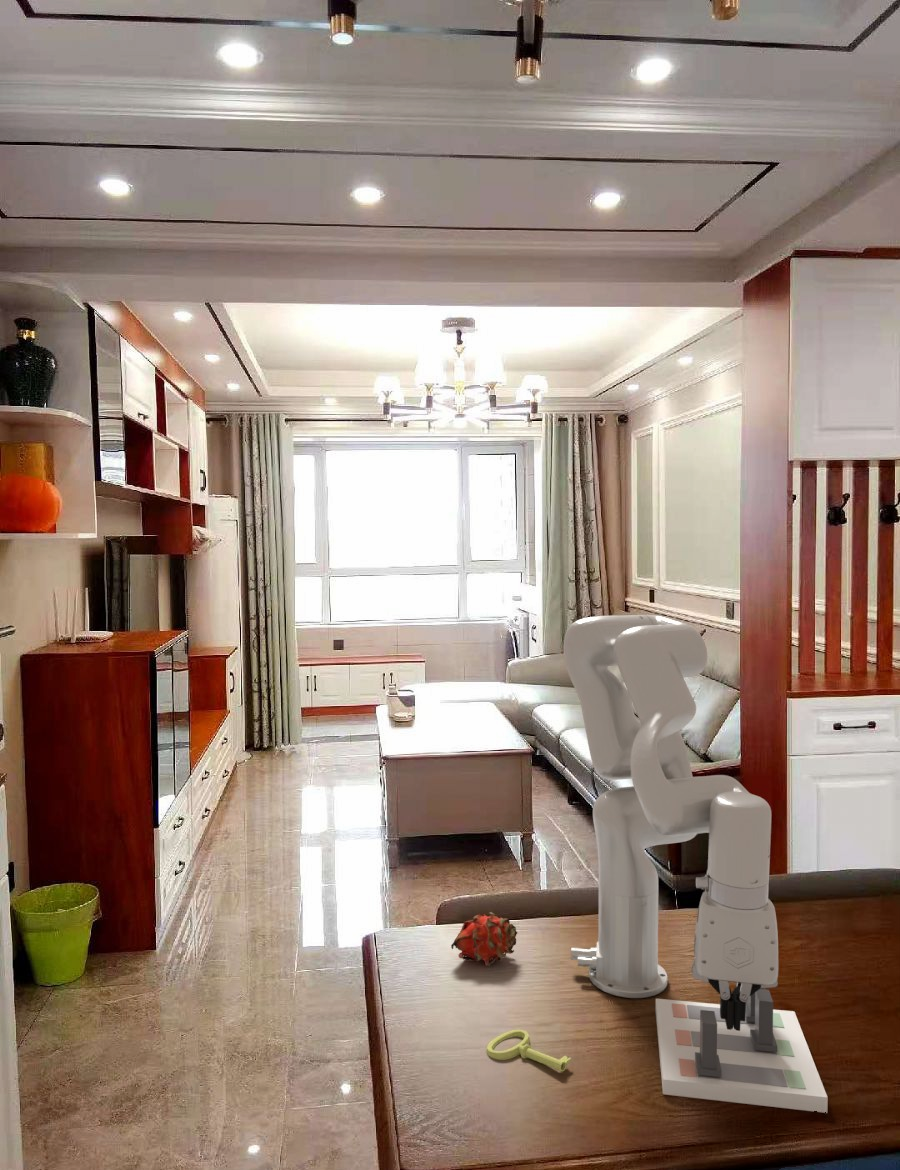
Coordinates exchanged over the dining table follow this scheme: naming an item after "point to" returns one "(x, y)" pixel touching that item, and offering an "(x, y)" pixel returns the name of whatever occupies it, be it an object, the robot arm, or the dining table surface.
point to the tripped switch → (708, 1046)
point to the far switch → (750, 1009)
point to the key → (524, 1051)
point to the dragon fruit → (485, 939)
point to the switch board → (738, 1060)
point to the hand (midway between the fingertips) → (732, 1023)
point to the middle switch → (763, 1022)
